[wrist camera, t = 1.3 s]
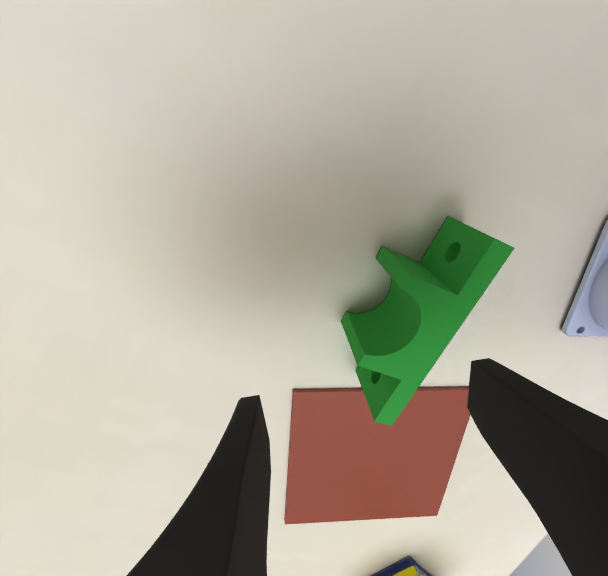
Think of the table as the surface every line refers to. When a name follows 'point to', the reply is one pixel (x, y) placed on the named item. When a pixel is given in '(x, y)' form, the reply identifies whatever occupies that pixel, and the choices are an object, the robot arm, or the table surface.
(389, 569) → the supplement box
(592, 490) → the robot arm
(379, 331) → the pipe clamp
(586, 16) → the table surface
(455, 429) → the napkin
